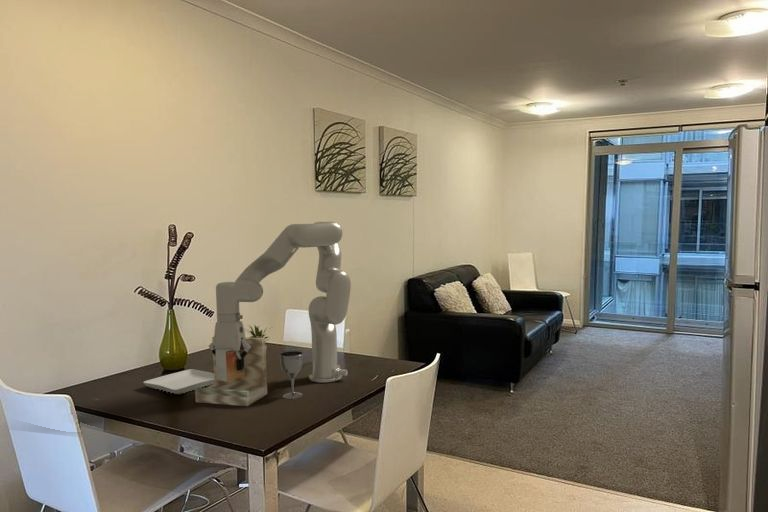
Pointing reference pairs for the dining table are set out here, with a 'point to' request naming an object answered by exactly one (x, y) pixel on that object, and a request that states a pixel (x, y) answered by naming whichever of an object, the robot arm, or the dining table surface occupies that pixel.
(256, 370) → the wavy patterned display stand
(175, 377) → the salad plate
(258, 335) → the house plant
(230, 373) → the small box
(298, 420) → the dining table surface
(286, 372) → the wine glass
